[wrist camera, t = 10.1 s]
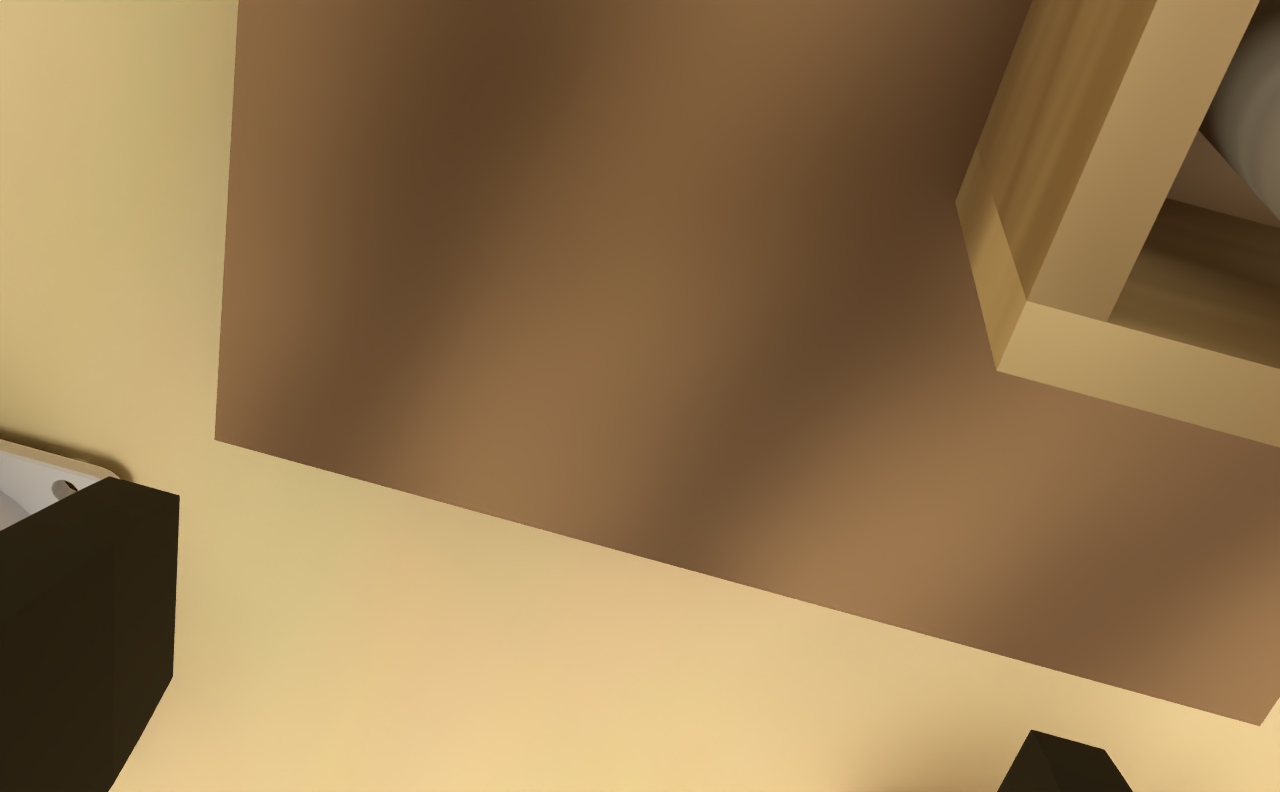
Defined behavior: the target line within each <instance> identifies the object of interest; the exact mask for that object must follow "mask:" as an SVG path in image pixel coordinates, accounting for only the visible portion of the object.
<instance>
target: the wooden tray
mask: <svg viewBox="0 0 1280 792" xmlns="http://www.w3.org/2000/svg"><path fill="white" fill-rule="evenodd" d="M1031 2H1032V0H239V4H238V22H237V41H236V59H235V77H234V96H233V114H232V132H231V150H230V169H229V187H228V205H227V224H226V242H225V260H224V278H223V297H222V315H221V333H220V352H219V370H218V388H217V407H216V425H215V440H217V441H221V442H225V443H228V444H232V445H236V446H239V447H243V448H247V449H250V450H254V451H258V452H261V453H265V454H268V455H272V456H276V457H279V458H283V459H287V460H290V461H294V462H298V463H301V464H305V465H309V466H312V467H316V468H320V469H323V470H327V471H331V472H334V473H338V474H341V475H345V476H349V477H352V478H356V479H360V480H363V481H367V482H371V483H374V484H378V485H382V486H385V487H389V488H393V489H396V490H400V491H404V492H407V493H411V494H415V495H418V496H422V497H425V498H429V499H433V500H436V501H440V502H444V503H447V504H451V505H455V506H458V507H462V508H466V509H469V510H473V511H477V512H480V513H484V514H488V515H491V516H495V517H498V518H502V519H506V520H509V521H513V522H517V523H520V524H524V525H528V526H531V527H535V528H539V529H542V530H546V531H550V532H553V533H557V534H561V535H564V536H568V537H571V538H575V539H579V540H582V541H586V542H590V543H593V544H597V545H601V546H604V547H608V548H612V549H615V550H619V551H623V552H626V553H630V554H634V555H637V556H641V557H644V558H648V559H652V560H655V561H659V562H663V563H666V564H670V565H674V566H677V567H681V568H685V569H688V570H692V571H696V572H699V573H703V574H707V575H710V576H714V577H717V578H721V579H725V580H728V581H732V582H736V583H739V584H743V585H747V586H750V587H754V588H758V589H761V590H765V591H769V592H772V593H776V594H780V595H783V596H787V597H790V598H794V599H798V600H801V601H805V602H809V603H812V604H816V605H820V606H823V607H827V608H831V609H834V610H838V611H842V612H845V613H849V614H853V615H856V616H860V617H863V618H867V619H871V620H874V621H878V622H882V623H885V624H889V625H893V626H896V627H900V628H904V629H907V630H911V631H915V632H918V633H922V634H926V635H929V636H933V637H936V638H940V639H944V640H947V641H951V642H955V643H958V644H962V645H966V646H969V647H973V648H977V649H980V650H984V651H988V652H991V653H995V654H999V655H1002V656H1006V657H1009V658H1013V659H1017V660H1020V661H1024V662H1028V663H1031V664H1035V665H1039V666H1042V667H1046V668H1050V669H1053V670H1057V671H1061V672H1064V673H1068V674H1072V675H1075V676H1079V677H1082V678H1086V679H1090V680H1093V681H1097V682H1101V683H1104V684H1108V685H1112V686H1115V687H1119V688H1123V689H1126V690H1130V691H1134V692H1137V693H1141V694H1145V695H1148V696H1152V697H1155V698H1159V699H1163V700H1166V701H1170V702H1174V703H1177V704H1181V705H1185V706H1188V707H1192V708H1196V709H1199V710H1203V711H1207V712H1210V713H1214V714H1218V715H1221V716H1225V717H1229V718H1232V719H1236V720H1239V721H1243V722H1247V723H1250V724H1254V725H1258V726H1260V725H1261V724H1262V722H1263V721H1264V719H1265V718H1266V716H1267V715H1268V713H1269V712H1270V710H1271V709H1272V707H1273V706H1274V705H1275V703H1276V702H1277V700H1278V699H1279V697H1280V447H1276V446H1273V445H1269V444H1265V443H1261V442H1258V441H1254V440H1250V439H1247V438H1243V437H1239V436H1236V435H1232V434H1228V433H1225V432H1221V431H1217V430H1214V429H1210V428H1206V427H1202V426H1199V425H1195V424H1191V423H1188V422H1184V421H1180V420H1177V419H1173V418H1169V417H1166V416H1162V415H1158V414H1154V413H1151V412H1147V411H1143V410H1140V409H1136V408H1132V407H1129V406H1125V405H1121V404H1118V403H1114V402H1110V401H1107V400H1103V399H1099V398H1095V397H1092V396H1088V395H1084V394H1081V393H1077V392H1073V391H1070V390H1066V389H1062V388H1059V387H1055V386H1051V385H1047V384H1044V383H1040V382H1036V381H1033V380H1029V379H1025V378H1022V377H1018V376H1014V375H1011V374H1007V373H1003V372H1000V371H996V367H995V363H994V359H993V355H992V351H991V346H990V342H989V338H988V334H987V330H986V326H985V322H984V318H983V314H982V310H981V306H980V301H979V297H978V293H977V289H976V285H975V281H974V277H973V273H972V269H971V265H970V261H969V257H968V252H967V248H966V244H965V240H964V236H963V232H962V228H961V224H960V220H959V216H958V212H957V207H956V203H955V201H956V198H957V196H958V193H959V191H960V188H961V185H962V183H963V180H964V178H965V175H966V172H967V170H968V167H969V165H970V162H971V159H972V157H973V154H974V151H975V149H976V146H977V144H978V141H979V138H980V136H981V133H982V131H983V128H984V125H985V123H986V120H987V117H988V115H989V112H990V110H991V107H992V104H993V102H994V99H995V97H996V94H997V91H998V89H999V86H1000V83H1001V81H1002V78H1003V76H1004V73H1005V70H1006V68H1007V65H1008V63H1009V60H1010V57H1011V55H1012V52H1013V49H1014V47H1015V44H1016V42H1017V39H1018V36H1019V34H1020V31H1021V29H1022V26H1023V23H1024V21H1025V18H1026V16H1027V13H1028V10H1029V8H1030V5H1031ZM1166 198H1169V199H1173V200H1176V201H1180V202H1184V203H1188V204H1191V205H1195V206H1199V207H1202V208H1206V209H1210V210H1214V211H1217V212H1221V213H1225V214H1228V215H1232V216H1236V217H1240V218H1243V219H1247V220H1251V221H1255V222H1258V223H1262V224H1266V225H1269V226H1273V227H1277V228H1280V0H1260V1H1259V4H1258V6H1257V8H1256V10H1255V12H1254V14H1253V16H1252V18H1251V20H1250V22H1249V25H1248V27H1247V29H1246V31H1245V33H1244V35H1243V37H1242V39H1241V41H1240V43H1239V45H1238V48H1237V50H1236V52H1235V54H1234V56H1233V58H1232V60H1231V62H1230V64H1229V66H1228V69H1227V71H1226V73H1225V75H1224V77H1223V79H1222V81H1221V83H1220V85H1219V87H1218V90H1217V92H1216V94H1215V96H1214V98H1213V100H1212V102H1211V104H1210V106H1209V108H1208V111H1207V113H1206V115H1205V117H1204V119H1203V121H1202V123H1201V125H1200V127H1199V129H1198V132H1197V134H1196V136H1195V138H1194V140H1193V142H1192V144H1191V146H1190V148H1189V150H1188V153H1187V155H1186V157H1185V159H1184V161H1183V163H1182V165H1181V167H1180V169H1179V171H1178V174H1177V176H1176V178H1175V180H1174V182H1173V184H1172V186H1171V188H1170V190H1169V192H1168V194H1167V197H1166Z"/></svg>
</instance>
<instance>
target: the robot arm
mask: <svg viewBox="0 0 1280 792" xmlns="http://www.w3.org/2000/svg"><path fill="white" fill-rule="evenodd" d="M65 480H66V481H68V482H70V483H72V484H73V485H74V486H75V487H76V488H77V489H78V491H75V490H73V489H71V488H70V487H69V486H68V485H67V484H66V483H65ZM179 502H180V496H179V495H176V494H172V493H168V492H165V491H161V490H158V489H154V488H150V487H147V486H143V485H139V484H136V483H132V482H128V481H125V480H121V479H120V478H119V477H118V476H117V475H116V474H114V473H113V472H112V471H110V470H107V469H105V468H103V467H100V466H96V465H93V464H89V463H85V462H82V461H78V460H74V459H71V458H67V457H63V456H60V455H56V454H53V453H49V452H45V451H42V450H38V449H34V448H31V447H27V446H23V445H20V444H16V443H13V442H9V441H5V440H2V439H0V792H108V791H109V789H110V788H111V787H112V785H113V784H114V782H115V780H116V778H117V777H118V775H119V773H120V772H121V770H122V768H123V766H124V765H125V763H126V761H127V759H128V758H129V756H130V754H131V752H132V751H133V749H134V747H135V745H136V744H137V742H138V740H139V738H140V737H141V735H142V733H143V731H144V729H145V727H146V726H147V724H148V722H149V720H150V718H151V716H152V714H153V713H154V711H155V709H156V707H157V705H158V703H159V701H160V700H161V698H162V696H163V694H164V692H165V690H166V688H167V687H168V685H169V683H170V681H171V679H172V677H173V659H174V633H175V607H176V580H177V554H178V528H179ZM997 792H1133V791H1132V790H1131V788H1130V787H1129V785H1128V784H1127V782H1126V781H1125V779H1124V778H1123V776H1122V775H1121V773H1120V772H1119V770H1118V769H1117V767H1116V766H1115V764H1114V763H1113V761H1112V760H1111V759H1110V757H1109V756H1108V754H1107V753H1106V751H1105V750H1104V749H1100V748H1097V747H1093V746H1089V745H1086V744H1082V743H1078V742H1075V741H1071V740H1067V739H1064V738H1060V737H1057V736H1053V735H1049V734H1046V733H1042V732H1038V731H1035V730H1031V731H1030V733H1029V734H1028V736H1027V738H1026V740H1025V742H1024V744H1023V745H1022V747H1021V749H1020V751H1019V753H1018V755H1017V756H1016V758H1015V760H1014V762H1013V764H1012V766H1011V767H1010V769H1009V771H1008V773H1007V775H1006V777H1005V778H1004V780H1003V782H1002V784H1001V786H1000V788H999V789H998V791H997Z"/></svg>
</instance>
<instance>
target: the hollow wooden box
mask: <svg viewBox="0 0 1280 792" xmlns="http://www.w3.org/2000/svg"><path fill="white" fill-rule="evenodd" d="M1259 1H1260V0H1032V2H1031V5H1030V8H1029V10H1028V13H1027V16H1026V18H1025V21H1024V23H1023V26H1022V29H1021V31H1020V34H1019V36H1018V39H1017V42H1016V44H1015V47H1014V49H1013V52H1012V55H1011V57H1010V60H1009V63H1008V65H1007V68H1006V70H1005V73H1004V76H1003V78H1002V81H1001V83H1000V86H999V89H998V91H997V94H996V97H995V99H994V102H993V104H992V107H991V110H990V112H989V115H988V117H987V120H986V123H985V125H984V128H983V131H982V133H981V136H980V138H979V141H978V144H977V146H976V149H975V151H974V154H973V157H972V159H971V162H970V165H969V167H968V170H967V172H966V175H965V178H964V180H963V183H962V185H961V188H960V191H959V193H958V196H957V198H956V201H955V203H956V207H957V212H958V216H959V220H960V224H961V228H962V232H963V236H964V240H965V244H966V248H967V252H968V257H969V261H970V265H971V269H972V273H973V277H974V281H975V285H976V289H977V293H978V297H979V301H980V306H981V310H982V314H983V318H984V322H985V326H986V330H987V334H988V338H989V342H990V346H991V351H992V355H993V359H994V363H995V367H996V371H1000V372H1003V373H1007V374H1011V375H1014V376H1018V377H1022V378H1025V379H1029V380H1033V381H1036V382H1040V383H1044V384H1047V385H1051V386H1055V387H1059V388H1062V389H1066V390H1070V391H1073V392H1077V393H1081V394H1084V395H1088V396H1092V397H1095V398H1099V399H1103V400H1107V401H1110V402H1114V403H1118V404H1121V405H1125V406H1129V407H1132V408H1136V409H1140V410H1143V411H1147V412H1151V413H1154V414H1158V415H1162V416H1166V417H1169V418H1173V419H1177V420H1180V421H1184V422H1188V423H1191V424H1195V425H1199V426H1202V427H1206V428H1210V429H1214V430H1217V431H1221V432H1225V433H1228V434H1232V435H1236V436H1239V437H1243V438H1247V439H1250V440H1254V441H1258V442H1261V443H1265V444H1269V445H1273V446H1276V447H1280V228H1277V227H1273V226H1269V225H1266V224H1262V223H1258V222H1255V221H1251V220H1247V219H1243V218H1240V217H1236V216H1232V215H1228V214H1225V213H1221V212H1217V211H1214V210H1210V209H1206V208H1202V207H1199V206H1195V205H1191V204H1188V203H1184V202H1180V201H1176V200H1173V199H1169V198H1166V197H1167V194H1168V192H1169V190H1170V188H1171V186H1172V184H1173V182H1174V180H1175V178H1176V176H1177V174H1178V171H1179V169H1180V167H1181V165H1182V163H1183V161H1184V159H1185V157H1186V155H1187V153H1188V150H1189V148H1190V146H1191V144H1192V142H1193V140H1194V138H1195V136H1196V134H1197V132H1198V129H1199V127H1200V125H1201V123H1202V121H1203V119H1204V117H1205V115H1206V113H1207V111H1208V108H1209V106H1210V104H1211V102H1212V100H1213V98H1214V96H1215V94H1216V92H1217V90H1218V87H1219V85H1220V83H1221V81H1222V79H1223V77H1224V75H1225V73H1226V71H1227V69H1228V66H1229V64H1230V62H1231V60H1232V58H1233V56H1234V54H1235V52H1236V50H1237V48H1238V45H1239V43H1240V41H1241V39H1242V37H1243V35H1244V33H1245V31H1246V29H1247V27H1248V25H1249V22H1250V20H1251V18H1252V16H1253V14H1254V12H1255V10H1256V8H1257V6H1258V4H1259Z"/></svg>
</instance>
